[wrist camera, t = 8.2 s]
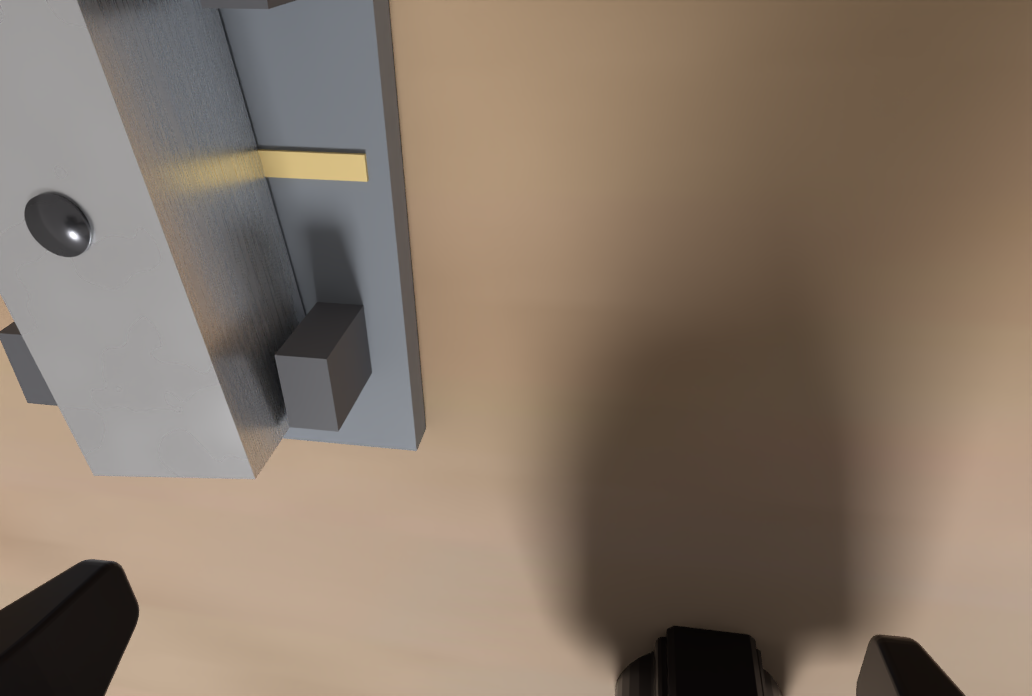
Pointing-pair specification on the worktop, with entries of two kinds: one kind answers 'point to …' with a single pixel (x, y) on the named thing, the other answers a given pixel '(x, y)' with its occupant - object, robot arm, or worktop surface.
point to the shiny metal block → (142, 236)
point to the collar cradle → (326, 216)
